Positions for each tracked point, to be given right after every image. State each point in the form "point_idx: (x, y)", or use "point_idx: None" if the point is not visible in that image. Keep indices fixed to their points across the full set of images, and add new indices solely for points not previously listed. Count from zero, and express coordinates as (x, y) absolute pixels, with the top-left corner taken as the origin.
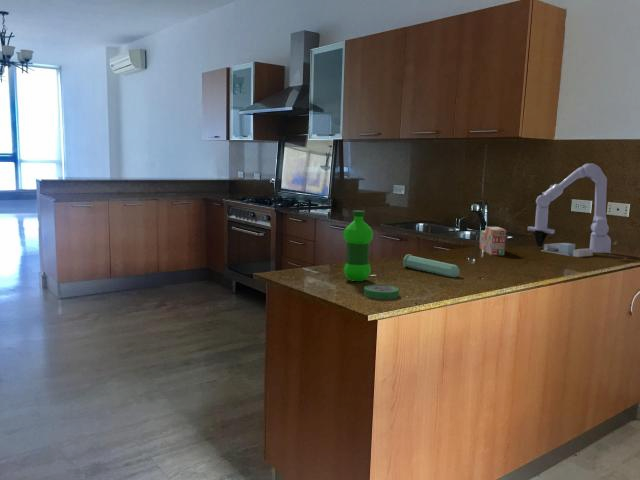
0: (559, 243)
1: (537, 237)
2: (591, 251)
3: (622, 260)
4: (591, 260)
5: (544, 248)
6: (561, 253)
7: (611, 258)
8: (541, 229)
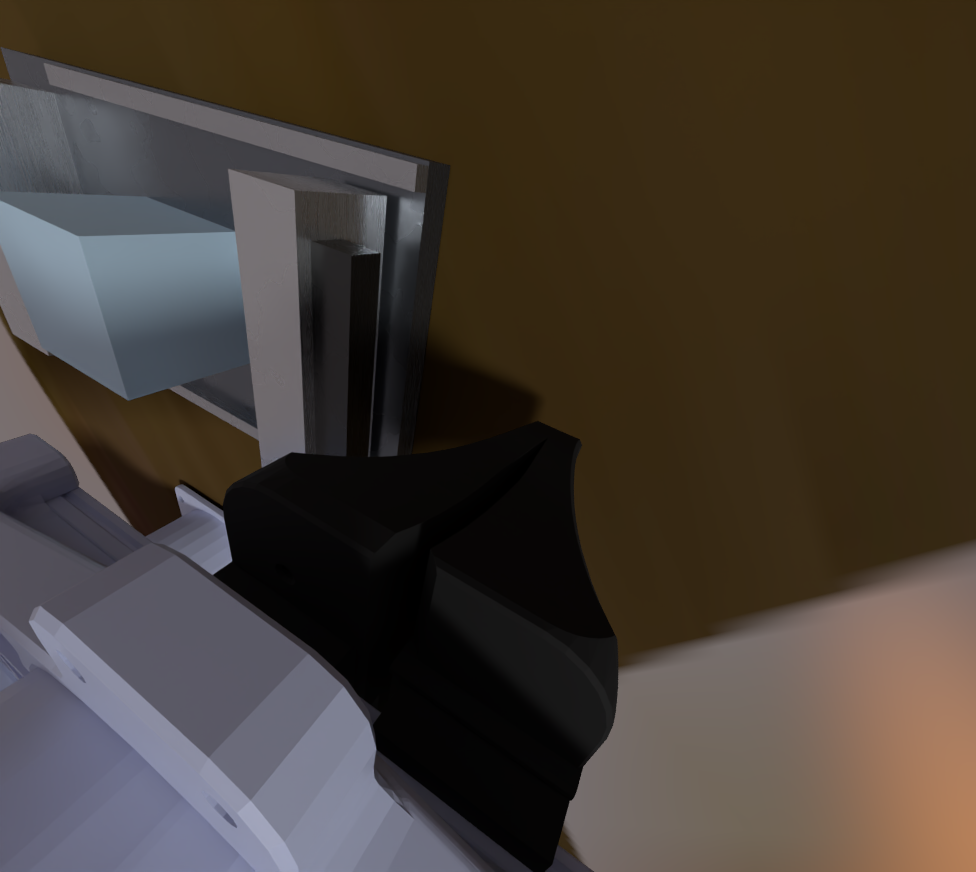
0: (78, 235)
1: (493, 508)
2: None
3: (47, 358)
4: None
5: (348, 190)
6: (121, 84)
7: (96, 393)
8: (43, 595)
